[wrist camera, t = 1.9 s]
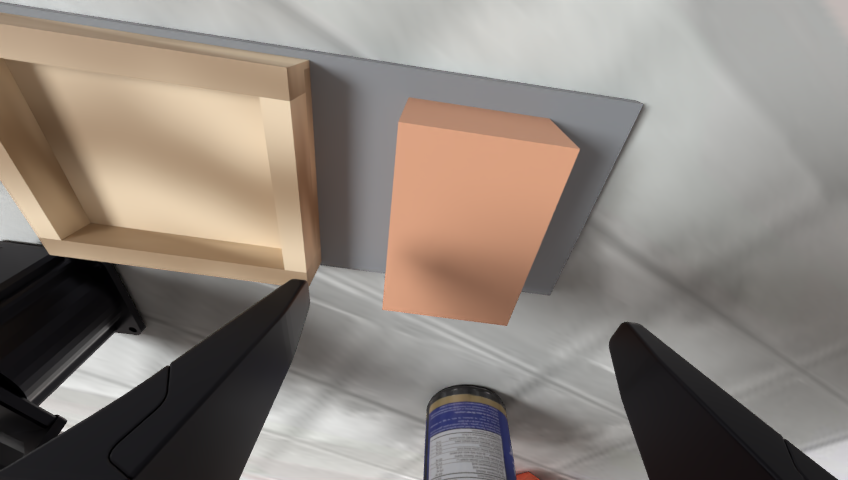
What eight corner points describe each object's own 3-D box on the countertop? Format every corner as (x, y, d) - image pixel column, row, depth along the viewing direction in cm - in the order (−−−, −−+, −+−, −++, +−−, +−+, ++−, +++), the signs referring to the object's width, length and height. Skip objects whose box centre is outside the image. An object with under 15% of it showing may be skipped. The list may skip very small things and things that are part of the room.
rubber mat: (547, 287, 18) (549, 295, 18) (92, 226, 18) (82, 232, 17) (635, 100, 13) (643, 104, 12) (-31, -3, 12) (-51, -4, 11)
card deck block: (496, 273, 17) (507, 326, 14) (392, 259, 17) (382, 309, 14) (549, 118, 13) (580, 149, 10) (408, 97, 13) (398, 122, 10)
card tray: (321, 261, 17) (308, 288, 16) (89, 230, 17) (49, 255, 15) (309, 60, 12) (286, 67, 10) (-31, 7, 12) (-115, 6, 10)
